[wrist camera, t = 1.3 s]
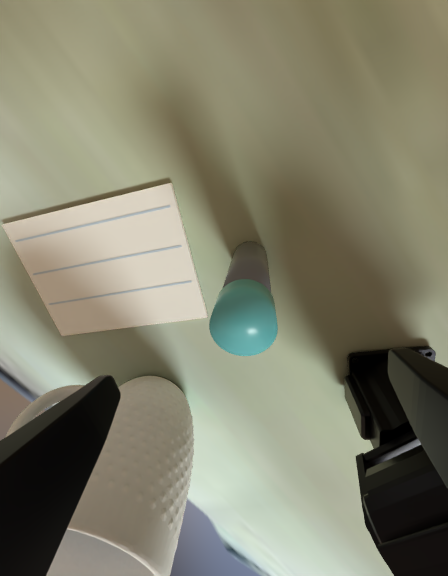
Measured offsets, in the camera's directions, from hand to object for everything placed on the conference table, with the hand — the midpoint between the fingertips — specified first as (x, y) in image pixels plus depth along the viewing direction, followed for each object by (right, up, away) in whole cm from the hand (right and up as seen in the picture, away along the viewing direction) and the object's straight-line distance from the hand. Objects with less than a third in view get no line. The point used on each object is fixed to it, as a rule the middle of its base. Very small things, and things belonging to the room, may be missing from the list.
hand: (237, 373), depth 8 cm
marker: (+2, +5, +11) cm, 13 cm away
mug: (-9, -8, +19) cm, 22 cm away
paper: (-10, +4, +13) cm, 17 cm away
